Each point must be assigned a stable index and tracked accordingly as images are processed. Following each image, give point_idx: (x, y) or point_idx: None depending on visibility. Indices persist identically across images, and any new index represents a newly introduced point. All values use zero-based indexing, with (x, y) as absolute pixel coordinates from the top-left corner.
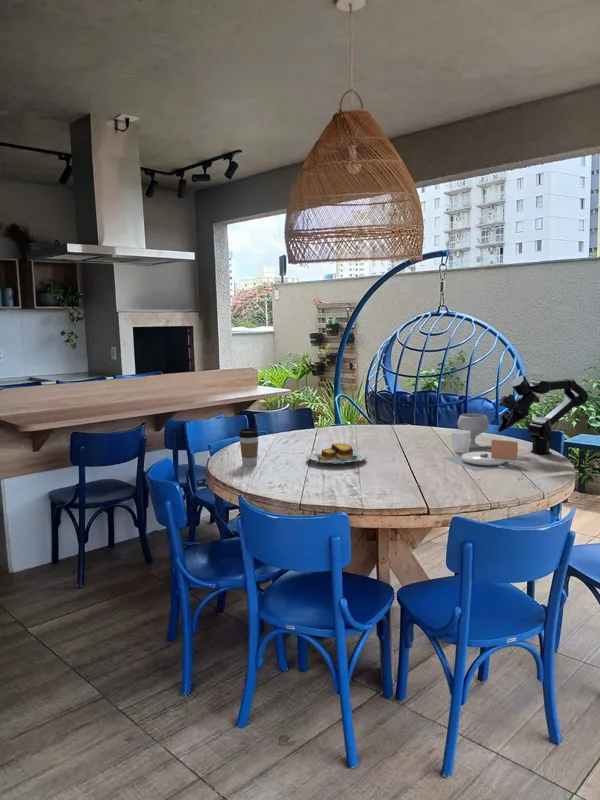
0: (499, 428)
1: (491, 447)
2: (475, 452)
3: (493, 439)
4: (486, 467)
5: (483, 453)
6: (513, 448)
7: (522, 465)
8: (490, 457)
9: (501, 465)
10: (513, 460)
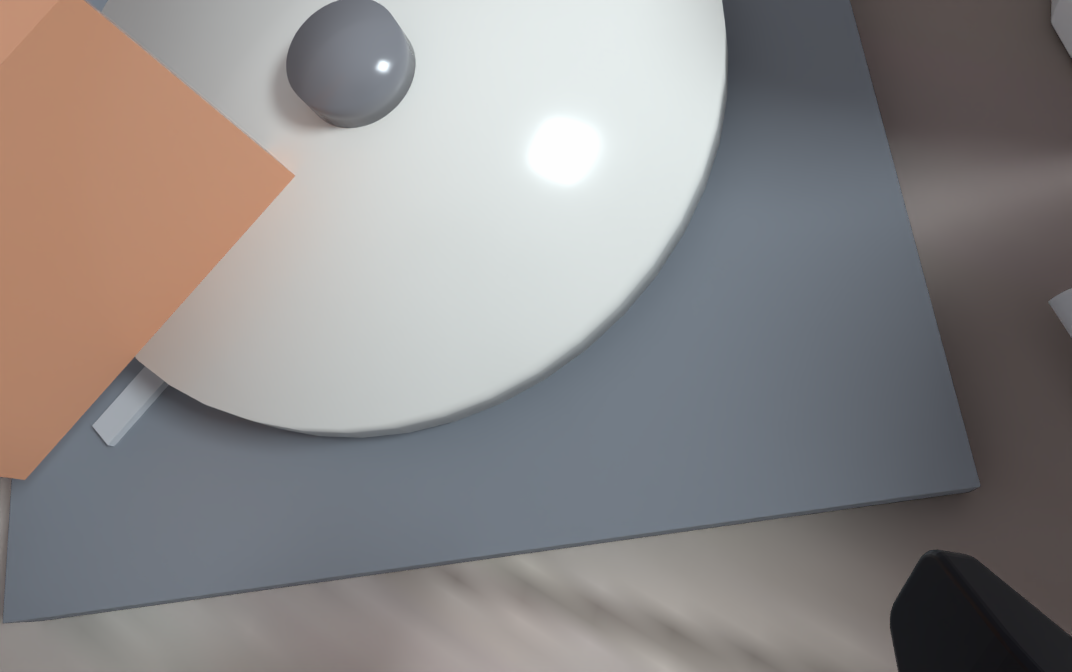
0: (987, 625)
1: (155, 58)
2: (664, 25)
3: (48, 5)
4: None
5: (389, 55)
6: None
7: (22, 538)
8: (279, 144)
9: None
10: (298, 573)
